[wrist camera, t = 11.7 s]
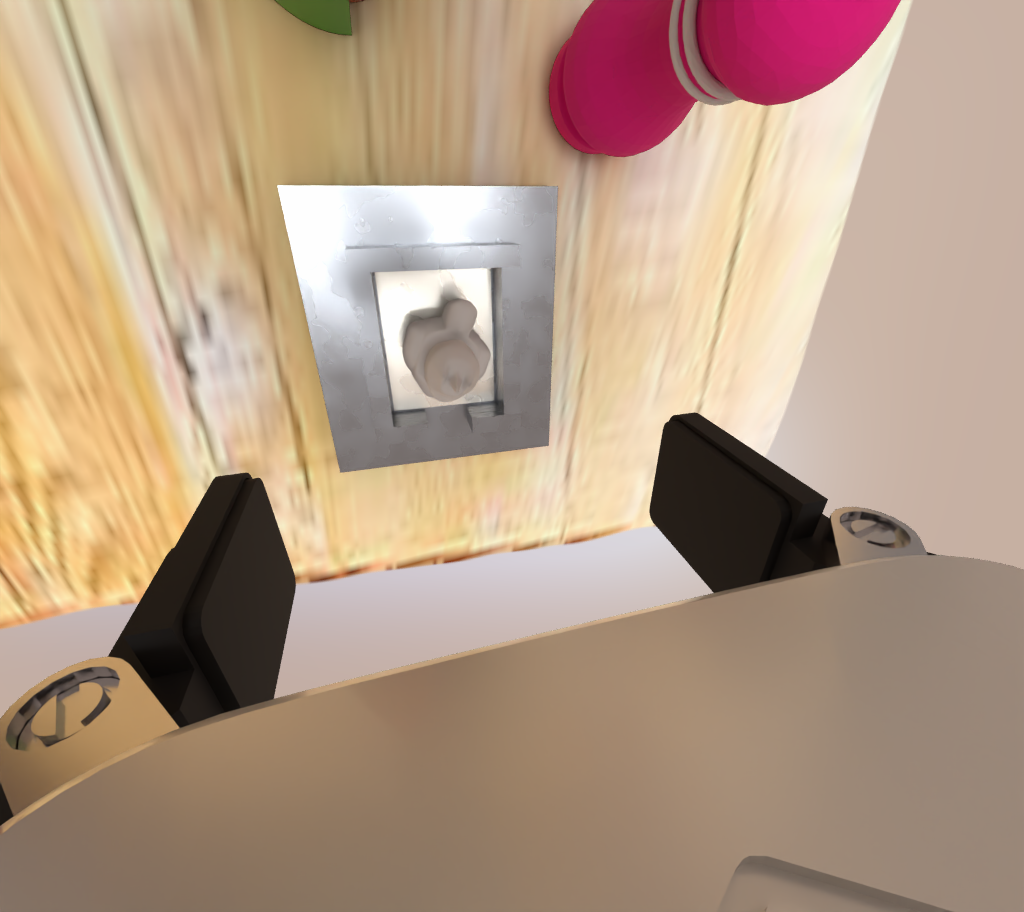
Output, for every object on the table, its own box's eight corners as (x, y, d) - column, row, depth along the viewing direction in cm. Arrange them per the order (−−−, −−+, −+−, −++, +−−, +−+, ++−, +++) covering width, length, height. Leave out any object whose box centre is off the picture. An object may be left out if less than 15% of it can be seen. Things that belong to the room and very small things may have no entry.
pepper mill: (517, 107, 27) (751, -62, 10) (589, -21, 25) (1025, -493, 8) (601, 188, 30) (884, 162, 14) (671, 80, 29) (1102, -109, 12)
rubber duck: (390, 375, 31) (394, 422, 24) (417, 276, 28) (430, 297, 21) (465, 395, 33) (489, 444, 26) (496, 305, 30) (531, 333, 23)
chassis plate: (283, 187, 26) (268, 183, 22) (547, 187, 30) (572, 184, 26) (342, 459, 35) (337, 490, 31) (540, 435, 38) (559, 460, 34)
